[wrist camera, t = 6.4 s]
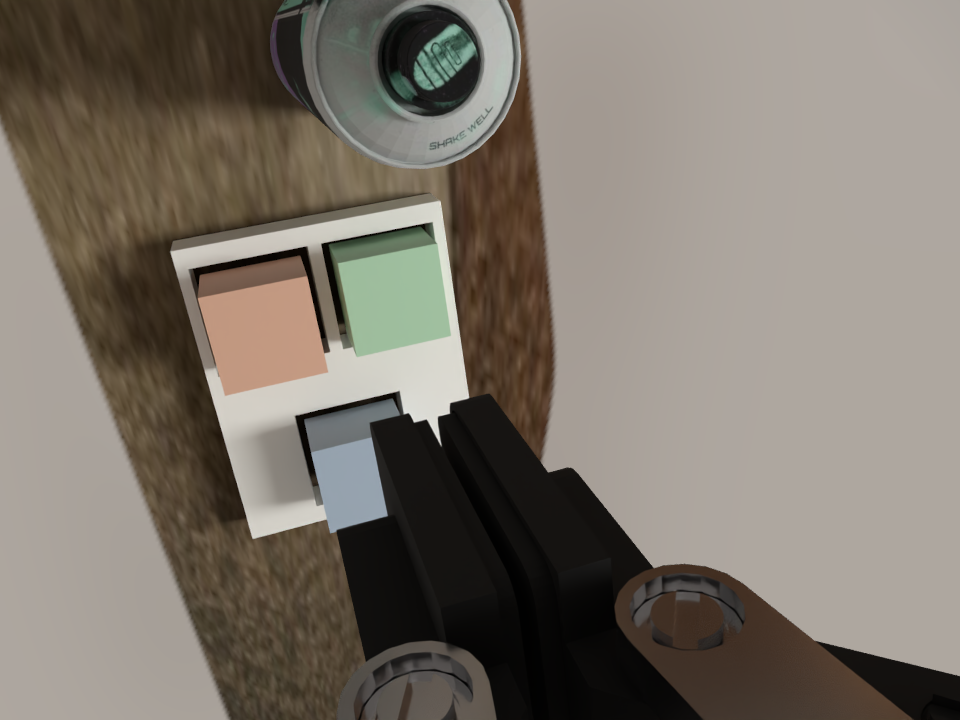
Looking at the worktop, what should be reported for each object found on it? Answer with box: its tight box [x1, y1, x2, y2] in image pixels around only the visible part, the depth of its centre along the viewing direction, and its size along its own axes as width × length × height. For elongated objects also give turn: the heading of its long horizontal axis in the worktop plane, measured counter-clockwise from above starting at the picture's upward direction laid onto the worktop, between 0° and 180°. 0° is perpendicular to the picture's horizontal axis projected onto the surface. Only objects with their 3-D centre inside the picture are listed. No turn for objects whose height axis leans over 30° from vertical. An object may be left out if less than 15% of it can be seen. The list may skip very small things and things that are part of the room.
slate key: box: [304, 398, 400, 533], centre depth 39 cm, size 4×4×4 cm
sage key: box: [328, 227, 451, 357], centre depth 38 cm, size 4×4×4 cm
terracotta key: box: [198, 255, 328, 396], centre depth 36 cm, size 4×4×4 cm
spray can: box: [270, 0, 521, 169], centre depth 27 cm, size 6×6×20 cm
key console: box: [170, 193, 469, 539], centre depth 40 cm, size 15×12×2 cm
